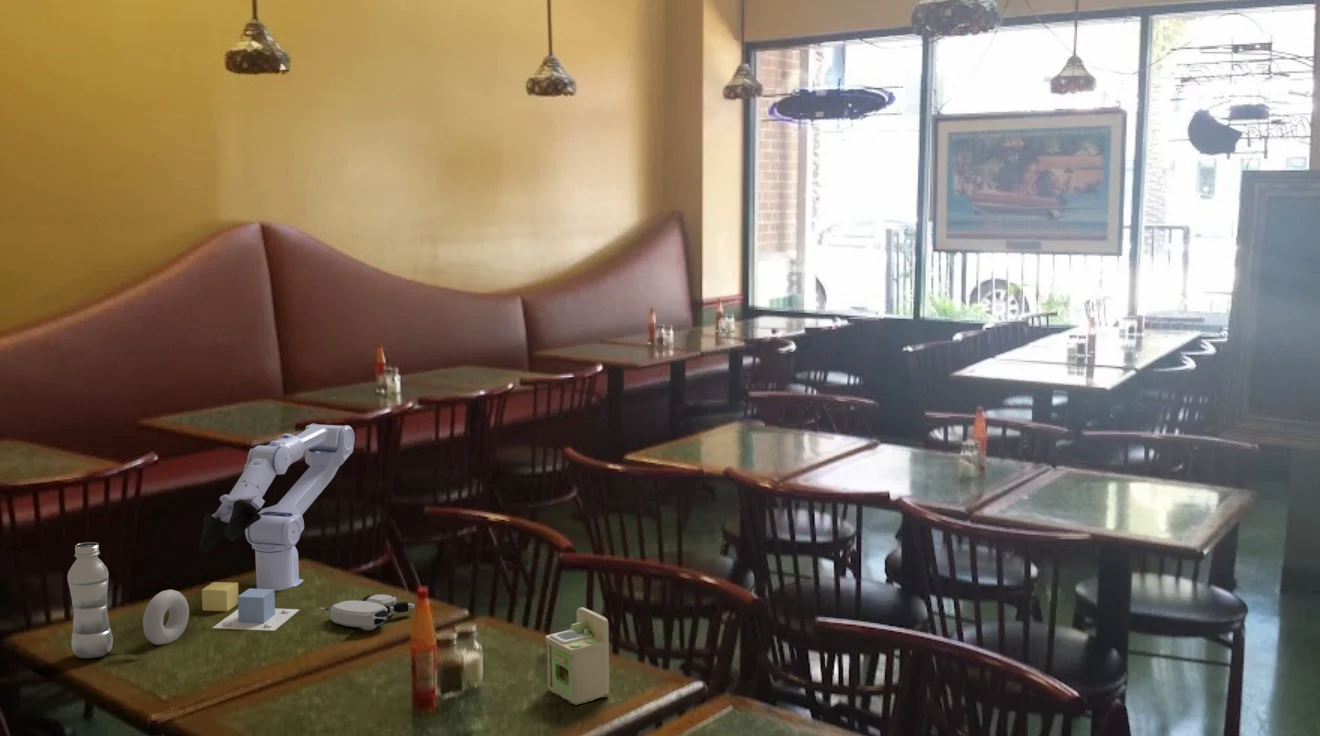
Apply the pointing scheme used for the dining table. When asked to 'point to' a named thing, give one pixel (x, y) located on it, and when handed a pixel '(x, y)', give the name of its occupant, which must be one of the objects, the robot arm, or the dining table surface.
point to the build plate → (270, 625)
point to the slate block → (256, 605)
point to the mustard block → (220, 596)
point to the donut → (156, 613)
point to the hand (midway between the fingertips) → (215, 543)
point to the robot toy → (367, 611)
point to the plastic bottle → (89, 603)
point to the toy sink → (580, 658)
